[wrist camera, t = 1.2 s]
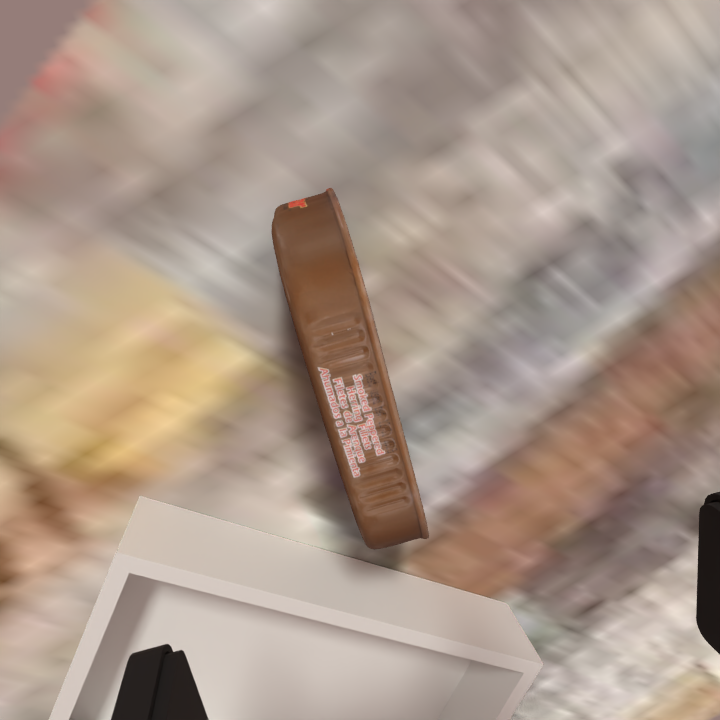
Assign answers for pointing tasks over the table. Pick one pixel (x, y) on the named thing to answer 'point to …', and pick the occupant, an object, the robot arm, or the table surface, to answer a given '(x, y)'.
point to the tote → (293, 630)
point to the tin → (347, 368)
